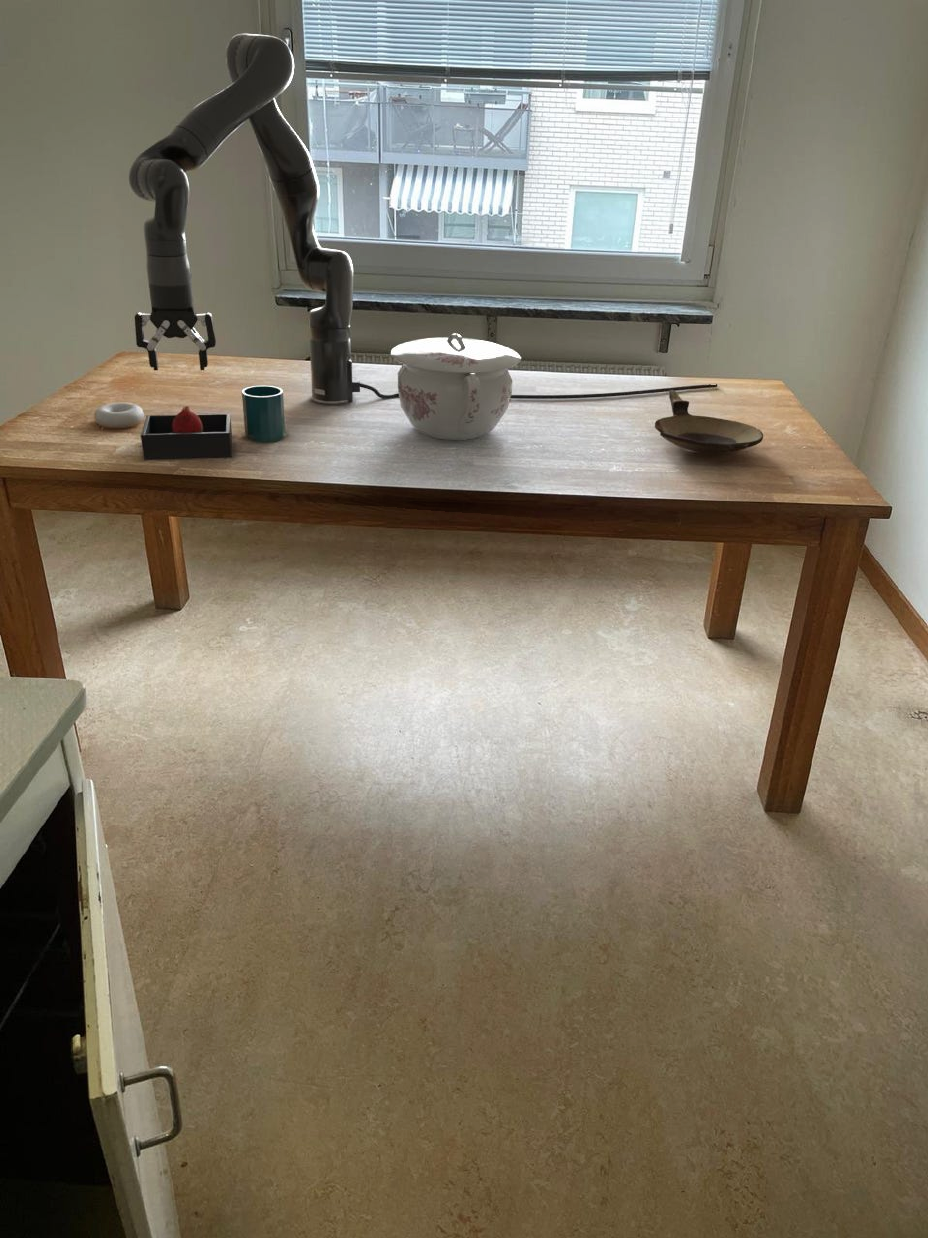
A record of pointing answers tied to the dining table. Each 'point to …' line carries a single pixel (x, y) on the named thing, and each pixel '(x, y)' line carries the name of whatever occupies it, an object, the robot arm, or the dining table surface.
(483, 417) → the chamber pot
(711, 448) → the frying pan
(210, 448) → the black open box
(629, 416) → the dining table surface
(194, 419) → the onion
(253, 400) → the cup
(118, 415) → the donut
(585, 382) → the dining table surface
